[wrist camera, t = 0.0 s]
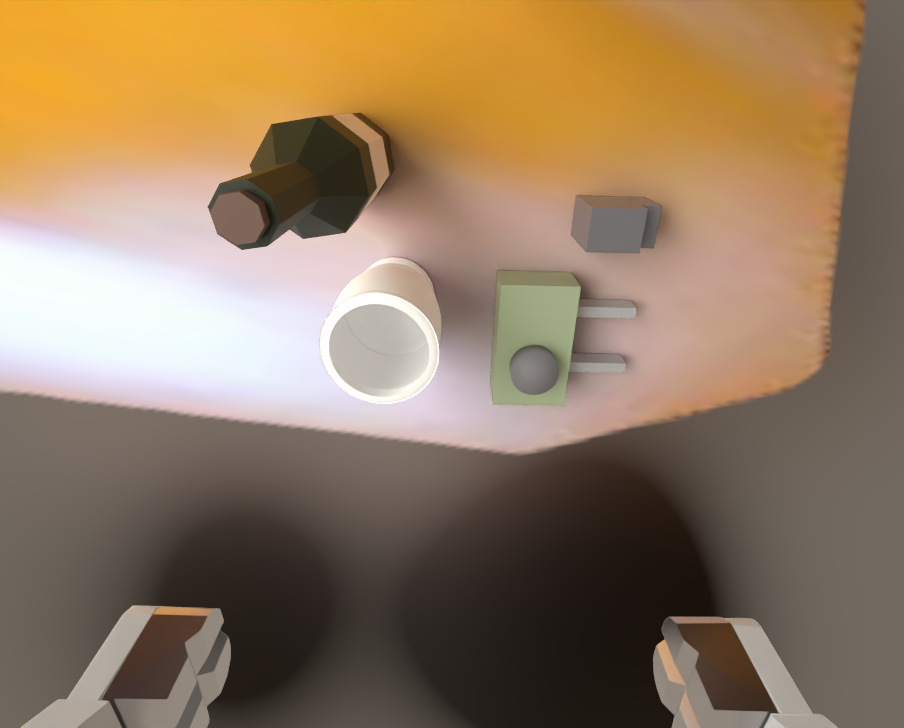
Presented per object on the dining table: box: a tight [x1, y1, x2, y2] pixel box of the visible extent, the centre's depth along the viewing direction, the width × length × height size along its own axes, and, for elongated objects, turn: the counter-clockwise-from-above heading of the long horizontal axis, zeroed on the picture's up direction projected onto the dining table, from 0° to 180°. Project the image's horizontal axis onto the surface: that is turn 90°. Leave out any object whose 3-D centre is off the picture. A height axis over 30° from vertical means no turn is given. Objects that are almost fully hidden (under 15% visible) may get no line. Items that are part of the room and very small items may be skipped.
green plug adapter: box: [490, 270, 637, 406], centre depth 56 cm, size 14×15×7 cm
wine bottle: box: [208, 113, 394, 250], centre depth 37 cm, size 8×8×30 cm
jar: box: [319, 257, 442, 404], centre depth 50 cm, size 11×10×15 cm
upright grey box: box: [571, 195, 662, 253], centre depth 50 cm, size 4×7×7 cm, turn 89°
